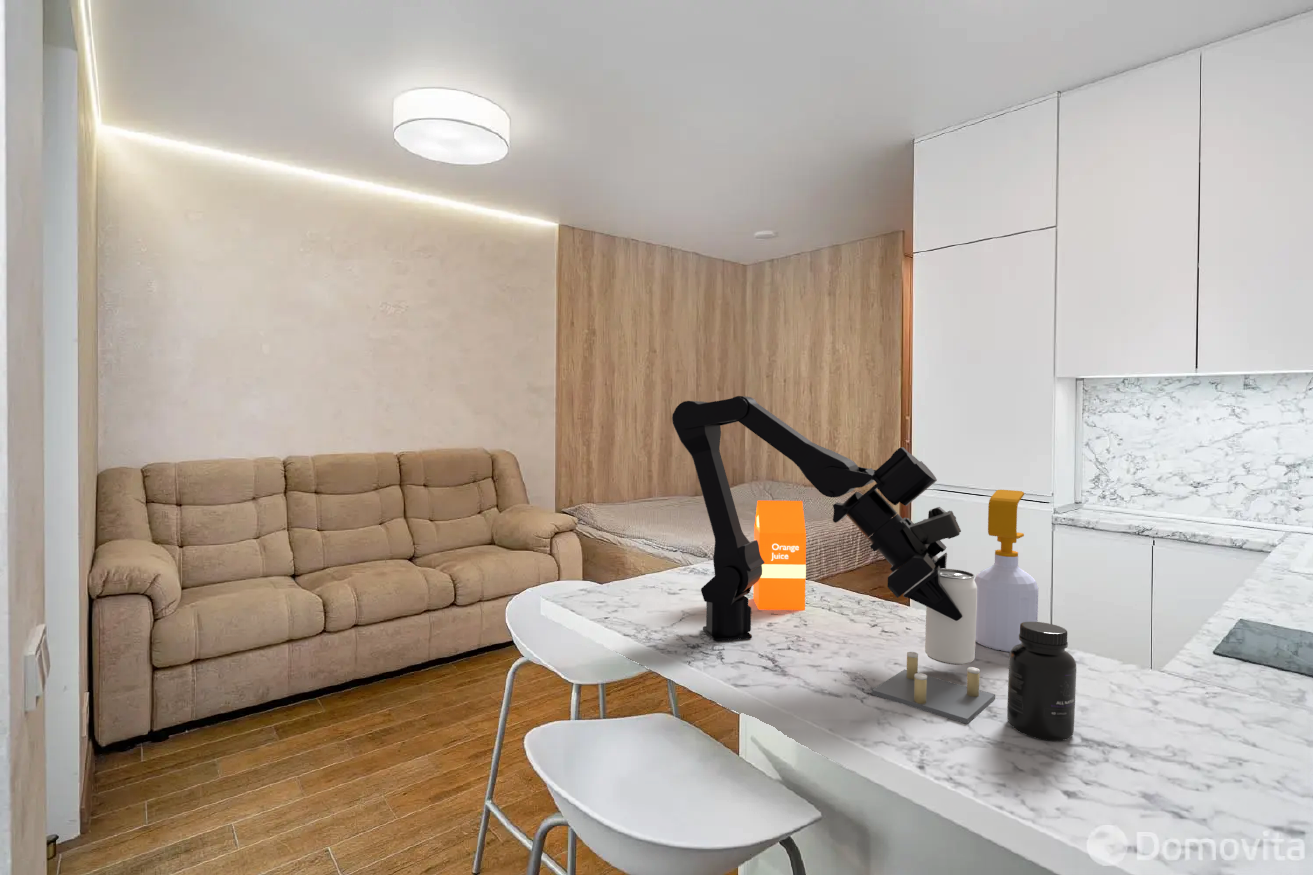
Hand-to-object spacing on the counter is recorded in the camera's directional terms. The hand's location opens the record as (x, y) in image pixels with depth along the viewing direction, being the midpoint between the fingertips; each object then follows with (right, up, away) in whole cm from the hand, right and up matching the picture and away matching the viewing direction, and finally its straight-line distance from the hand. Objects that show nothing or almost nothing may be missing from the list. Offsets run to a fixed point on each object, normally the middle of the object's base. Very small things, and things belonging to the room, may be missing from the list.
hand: (961, 612), depth 95 cm
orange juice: (-19, -8, +36) cm, 41 cm away
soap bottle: (+13, -9, +14) cm, 21 cm away
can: (-1, -7, +1) cm, 7 cm away
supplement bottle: (+2, -10, -16) cm, 19 cm away
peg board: (-7, -9, -7) cm, 13 cm away
